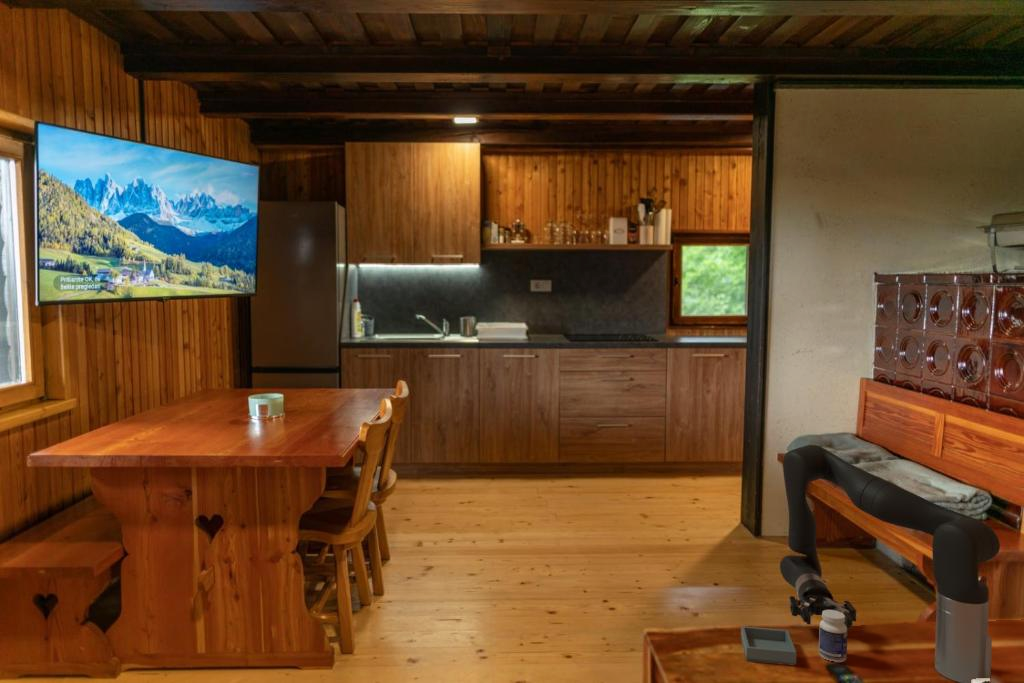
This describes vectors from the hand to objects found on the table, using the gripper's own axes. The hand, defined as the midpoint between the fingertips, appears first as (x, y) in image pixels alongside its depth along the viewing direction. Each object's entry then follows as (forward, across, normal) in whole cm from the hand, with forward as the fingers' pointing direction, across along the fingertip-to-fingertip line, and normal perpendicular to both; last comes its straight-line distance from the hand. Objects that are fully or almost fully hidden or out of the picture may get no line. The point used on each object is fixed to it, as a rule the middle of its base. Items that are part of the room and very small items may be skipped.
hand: (828, 622), depth 157 cm
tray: (+5, -14, +6) cm, 16 cm away
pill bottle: (+4, 0, +6) cm, 8 cm away
